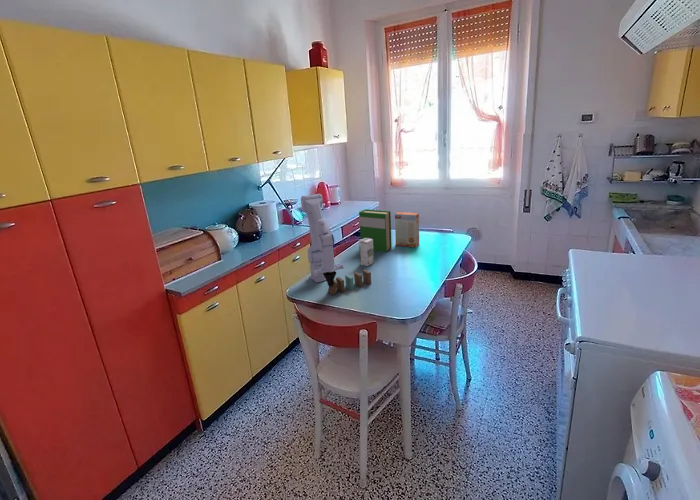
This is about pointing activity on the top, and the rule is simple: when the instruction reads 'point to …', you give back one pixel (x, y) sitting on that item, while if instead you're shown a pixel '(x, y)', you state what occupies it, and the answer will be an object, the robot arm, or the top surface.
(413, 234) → the cracker box
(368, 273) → the tile
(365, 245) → the syrup box
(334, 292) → the tile
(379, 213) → the hardback book
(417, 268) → the top surface
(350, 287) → the teal tile
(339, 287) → the tile
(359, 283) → the tile
